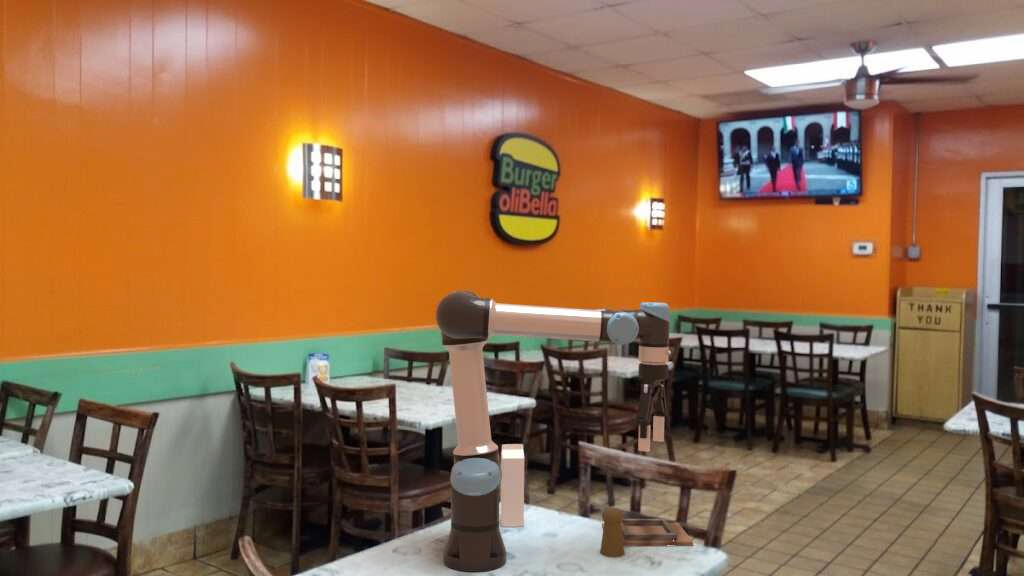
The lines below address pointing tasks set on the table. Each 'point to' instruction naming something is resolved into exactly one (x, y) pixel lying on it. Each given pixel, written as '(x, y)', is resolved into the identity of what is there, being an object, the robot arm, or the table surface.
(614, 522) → the brown tall rounded piece
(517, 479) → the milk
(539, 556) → the table surface
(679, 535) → the board
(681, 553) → the table surface
